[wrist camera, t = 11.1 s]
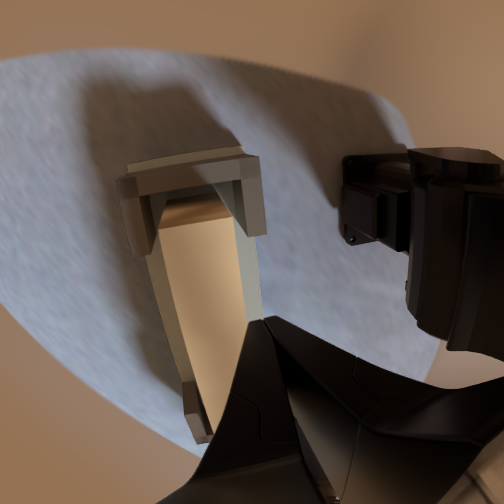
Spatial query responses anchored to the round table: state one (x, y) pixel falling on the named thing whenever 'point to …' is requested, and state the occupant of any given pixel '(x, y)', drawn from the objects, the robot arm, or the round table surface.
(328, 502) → the supplement bottle
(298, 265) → the round table surface
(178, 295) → the slat
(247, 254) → the slat rail
